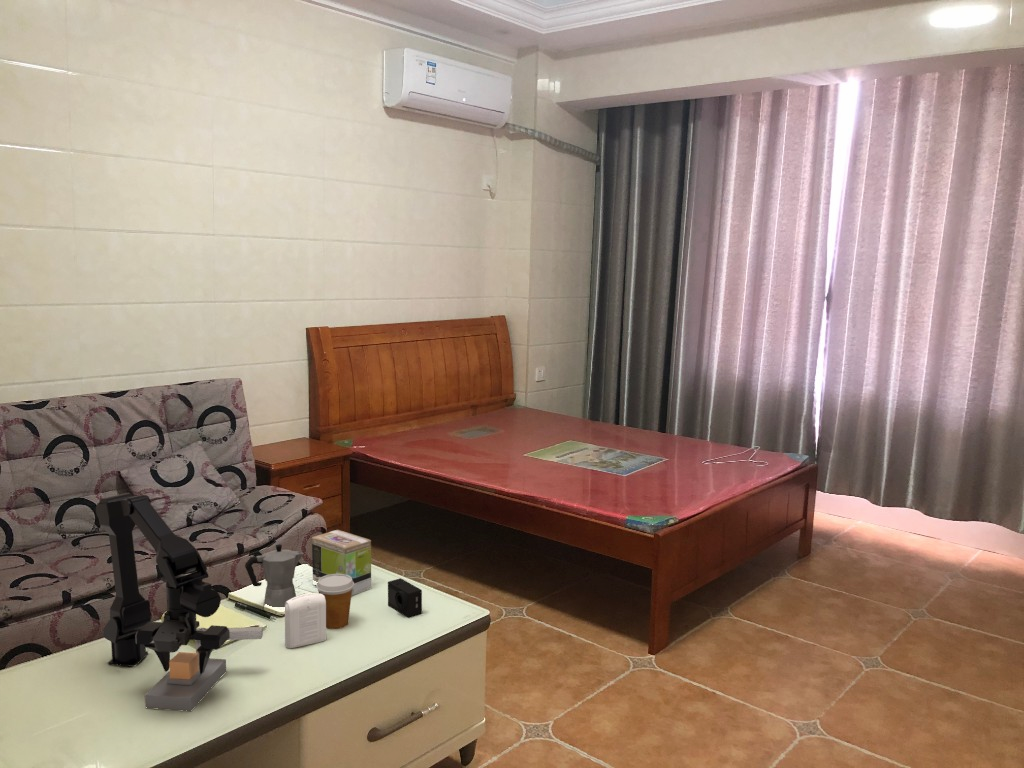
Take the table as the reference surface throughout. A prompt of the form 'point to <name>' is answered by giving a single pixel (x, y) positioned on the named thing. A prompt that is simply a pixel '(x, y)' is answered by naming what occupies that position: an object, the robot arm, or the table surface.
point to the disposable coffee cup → (336, 598)
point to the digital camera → (404, 598)
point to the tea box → (343, 558)
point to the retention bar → (242, 633)
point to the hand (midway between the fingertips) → (184, 671)
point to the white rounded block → (305, 620)
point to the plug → (184, 668)
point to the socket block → (185, 688)
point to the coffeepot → (276, 574)
